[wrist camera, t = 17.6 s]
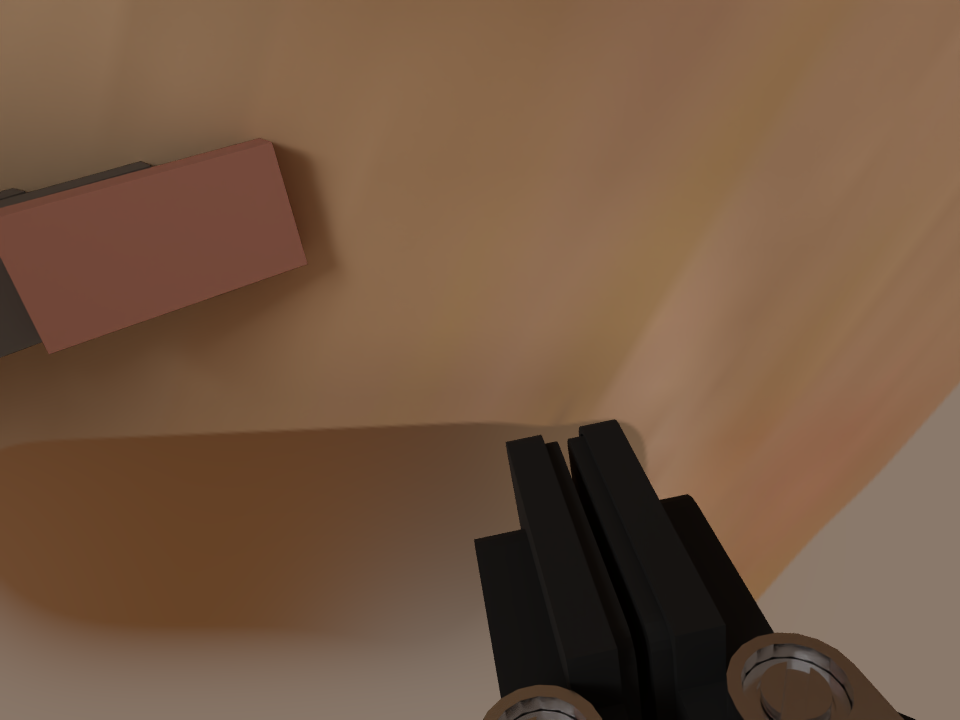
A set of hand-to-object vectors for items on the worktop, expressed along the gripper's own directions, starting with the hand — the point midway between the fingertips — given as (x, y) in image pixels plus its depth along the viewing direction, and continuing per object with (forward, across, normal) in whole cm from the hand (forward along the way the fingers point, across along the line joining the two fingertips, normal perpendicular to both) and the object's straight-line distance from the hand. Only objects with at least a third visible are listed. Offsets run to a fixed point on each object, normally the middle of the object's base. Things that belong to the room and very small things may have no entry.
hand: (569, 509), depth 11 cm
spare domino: (+22, +7, 0) cm, 23 cm away
